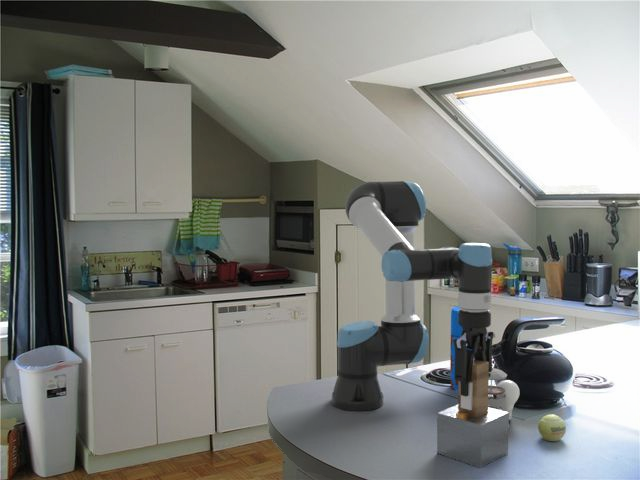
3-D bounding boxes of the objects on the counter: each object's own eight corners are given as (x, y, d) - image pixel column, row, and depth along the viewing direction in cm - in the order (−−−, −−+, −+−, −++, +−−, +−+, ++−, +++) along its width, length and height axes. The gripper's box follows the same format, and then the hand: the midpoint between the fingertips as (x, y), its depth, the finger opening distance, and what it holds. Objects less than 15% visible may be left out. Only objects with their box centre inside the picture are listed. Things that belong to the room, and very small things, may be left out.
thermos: (483, 383, 224) (484, 306, 222) (487, 393, 214) (489, 312, 211) (448, 382, 225) (449, 305, 223) (451, 392, 215) (452, 312, 213)
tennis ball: (547, 418, 172) (570, 415, 174) (531, 413, 179) (554, 410, 181) (549, 444, 172) (572, 441, 174) (533, 438, 178) (556, 435, 180)
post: (457, 452, 167) (458, 362, 165) (469, 446, 171) (470, 358, 169) (475, 458, 164) (477, 366, 162) (487, 452, 167) (488, 361, 165)
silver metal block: (437, 453, 167) (437, 408, 166) (465, 440, 176) (465, 397, 175) (480, 468, 159) (481, 420, 158) (507, 453, 167) (508, 408, 166)
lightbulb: (518, 417, 192) (520, 378, 191) (518, 425, 186) (519, 384, 185) (495, 415, 194) (496, 376, 193) (493, 422, 188) (495, 382, 187)
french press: (503, 434, 180) (504, 338, 178) (460, 426, 186) (460, 333, 184) (514, 422, 188) (515, 330, 186) (472, 415, 194) (473, 326, 192)
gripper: (466, 316, 155) (465, 418, 157) (508, 305, 168) (507, 400, 170) (438, 312, 161) (437, 411, 163) (481, 302, 173) (480, 393, 175)
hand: (473, 405), depth 166 cm, fingers closed on post, 5 cm apart
